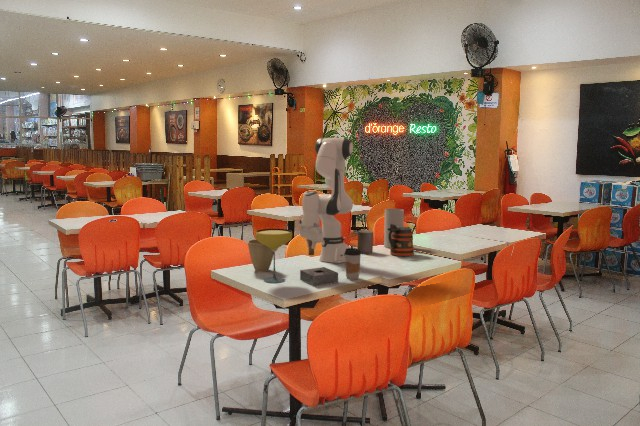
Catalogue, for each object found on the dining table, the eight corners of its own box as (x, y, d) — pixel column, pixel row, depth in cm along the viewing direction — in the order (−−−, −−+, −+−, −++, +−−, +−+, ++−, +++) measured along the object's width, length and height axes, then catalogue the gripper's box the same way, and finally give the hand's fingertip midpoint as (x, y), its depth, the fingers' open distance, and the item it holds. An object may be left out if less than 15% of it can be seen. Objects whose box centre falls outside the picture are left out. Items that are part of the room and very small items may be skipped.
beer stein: (399, 258, 318) (400, 226, 316) (380, 255, 329) (381, 223, 326) (418, 254, 331) (419, 222, 329) (399, 251, 342) (400, 220, 339)
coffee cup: (341, 278, 273) (341, 249, 271) (351, 275, 278) (352, 247, 276) (353, 281, 267) (353, 251, 265) (364, 278, 272) (364, 249, 270)
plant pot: (246, 273, 282) (245, 243, 280) (250, 267, 296) (249, 238, 294) (274, 273, 282) (274, 244, 280) (277, 267, 296) (276, 239, 294)
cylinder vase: (386, 244, 363) (386, 208, 360) (404, 245, 359) (405, 209, 356) (382, 248, 351) (383, 210, 348) (401, 249, 347) (402, 211, 344)
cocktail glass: (280, 274, 280) (279, 227, 277) (299, 281, 266) (299, 232, 263) (249, 279, 270) (249, 230, 266) (268, 287, 255) (267, 235, 252)
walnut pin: (312, 253, 284) (312, 235, 282) (315, 254, 281) (315, 236, 279) (307, 254, 282) (307, 235, 281) (310, 255, 280) (309, 236, 278)
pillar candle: (354, 252, 336) (354, 229, 334) (362, 250, 344) (363, 227, 342) (367, 254, 330) (368, 231, 328) (375, 252, 338) (376, 229, 336)
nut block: (324, 276, 276) (324, 267, 275) (338, 282, 264) (338, 272, 263) (300, 279, 269) (300, 270, 268) (313, 286, 257) (313, 276, 256)
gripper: (326, 224, 271) (326, 251, 274) (307, 218, 289) (307, 243, 291) (315, 225, 268) (315, 252, 270) (297, 219, 286) (297, 245, 288)
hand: (311, 247), depth 281 cm, fingers closed on walnut pin, 3 cm apart
